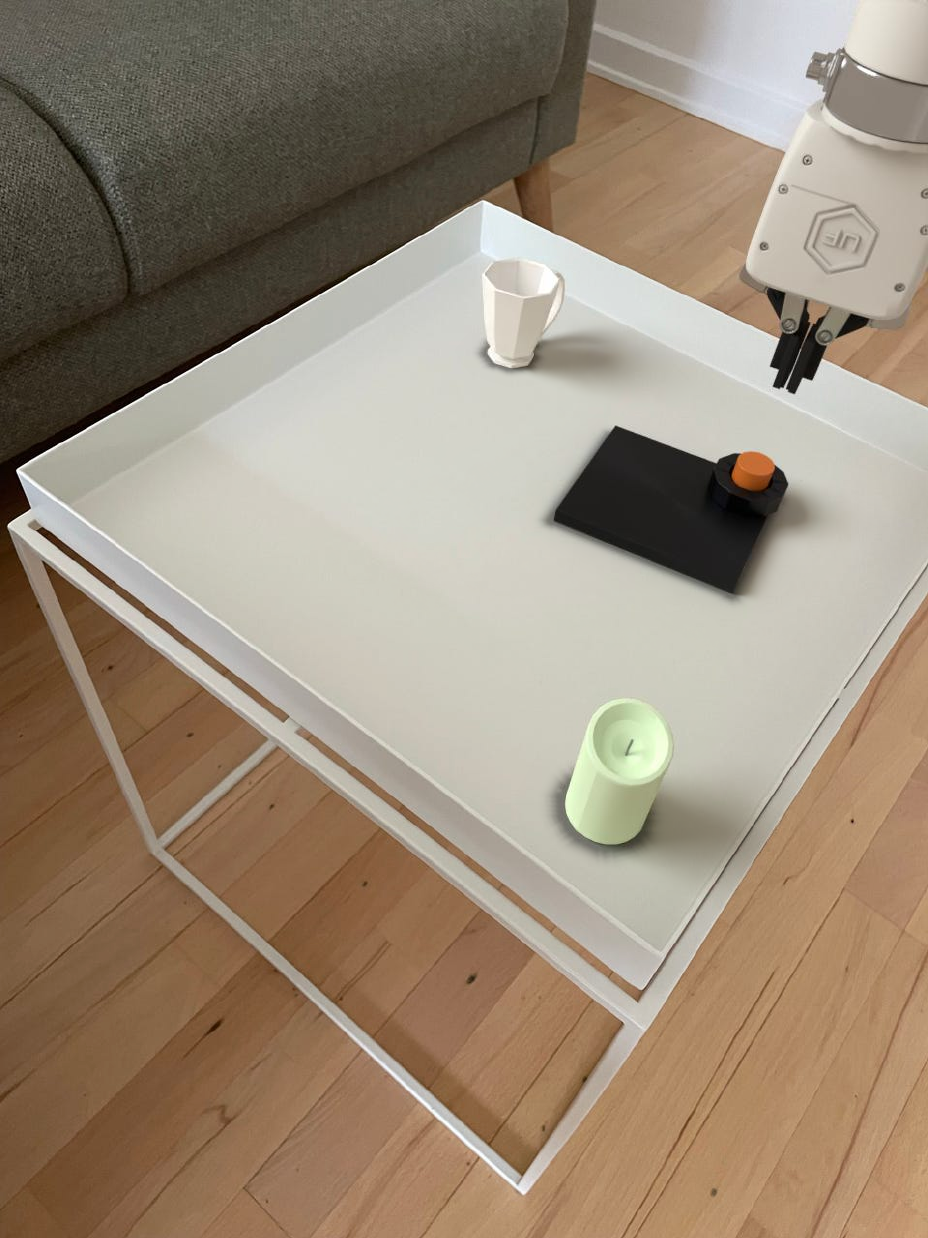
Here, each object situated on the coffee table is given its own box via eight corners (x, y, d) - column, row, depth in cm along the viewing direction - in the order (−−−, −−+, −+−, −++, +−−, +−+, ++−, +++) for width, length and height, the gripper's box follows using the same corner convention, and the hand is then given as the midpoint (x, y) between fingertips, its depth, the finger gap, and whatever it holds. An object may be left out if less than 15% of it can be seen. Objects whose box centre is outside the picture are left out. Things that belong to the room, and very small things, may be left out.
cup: (458, 351, 93) (465, 272, 87) (528, 316, 98) (539, 239, 92) (512, 385, 90) (524, 306, 84) (581, 347, 95) (597, 270, 89)
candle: (646, 850, 59) (680, 776, 53) (564, 841, 59) (589, 766, 53) (642, 779, 62) (674, 702, 56) (564, 771, 62) (588, 692, 56)
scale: (783, 497, 83) (795, 469, 80) (737, 596, 74) (749, 568, 72) (614, 433, 86) (621, 405, 84) (553, 520, 78) (559, 492, 76)
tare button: (772, 476, 80) (779, 459, 79) (762, 496, 78) (769, 480, 77) (737, 463, 81) (743, 446, 80) (726, 483, 79) (732, 466, 78)
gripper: (750, 83, 53) (668, 372, 67) (1034, 158, 49) (886, 447, 63) (783, 45, 58) (701, 322, 71) (1045, 111, 54) (906, 389, 68)
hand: (788, 380), depth 67 cm, fingers closed
